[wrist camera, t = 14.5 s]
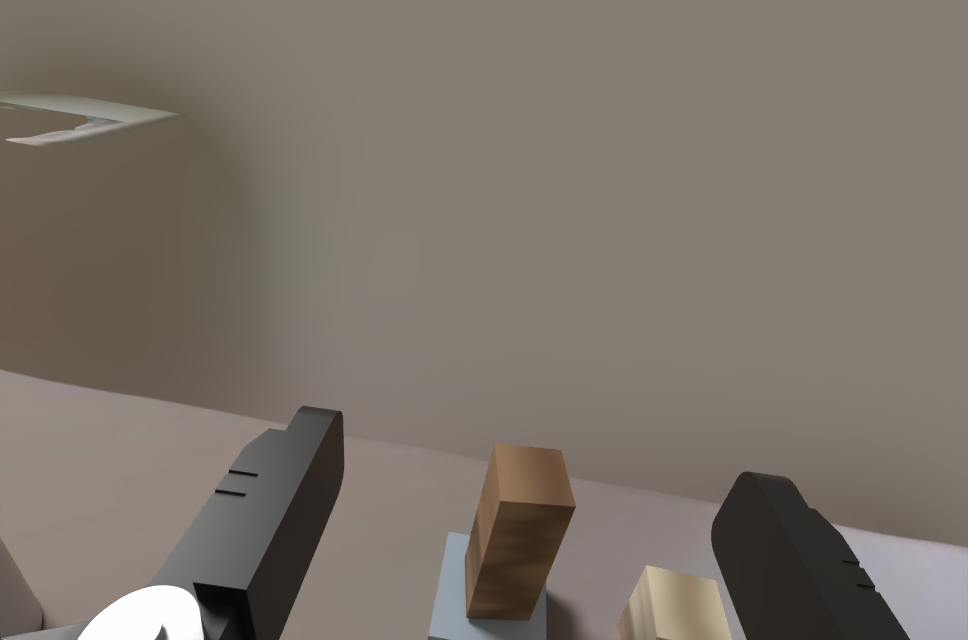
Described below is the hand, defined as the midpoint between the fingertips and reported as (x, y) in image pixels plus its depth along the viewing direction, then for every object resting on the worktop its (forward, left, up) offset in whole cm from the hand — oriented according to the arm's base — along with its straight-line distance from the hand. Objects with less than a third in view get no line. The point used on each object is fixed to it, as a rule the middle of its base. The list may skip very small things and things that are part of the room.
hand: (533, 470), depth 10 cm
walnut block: (-1, +14, -27) cm, 31 cm away
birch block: (+11, +16, -32) cm, 38 cm away
